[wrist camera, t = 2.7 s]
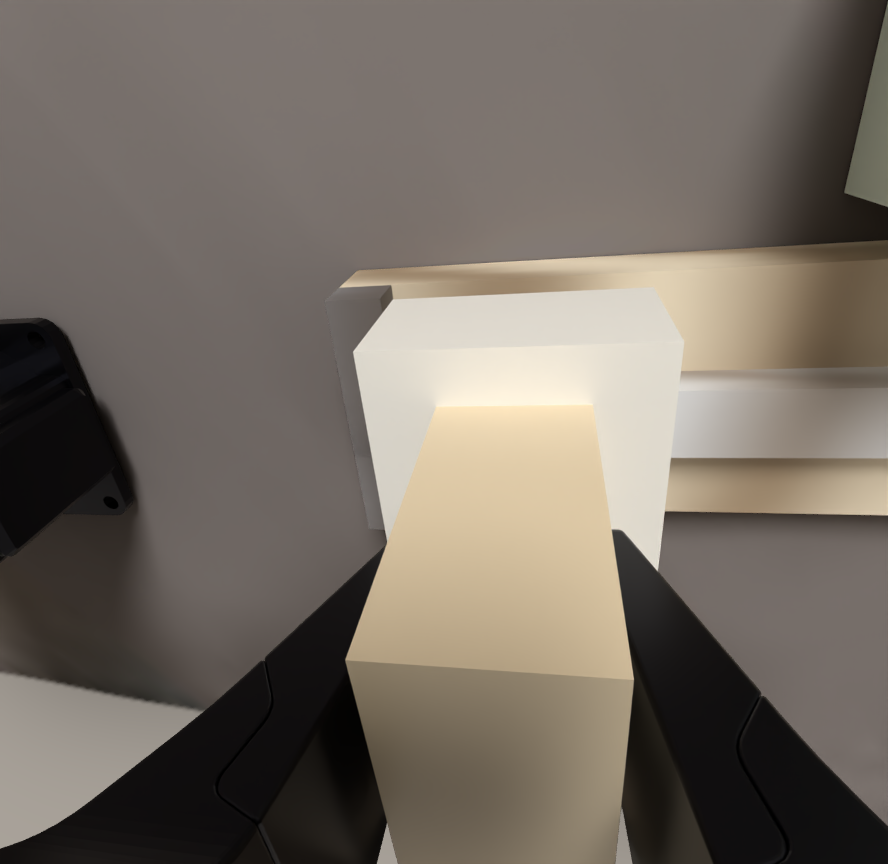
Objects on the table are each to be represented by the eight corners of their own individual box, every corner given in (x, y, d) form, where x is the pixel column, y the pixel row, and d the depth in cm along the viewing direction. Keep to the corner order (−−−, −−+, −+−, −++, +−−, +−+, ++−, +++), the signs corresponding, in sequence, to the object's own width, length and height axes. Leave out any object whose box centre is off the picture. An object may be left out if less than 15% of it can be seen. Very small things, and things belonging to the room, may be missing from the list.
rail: (391, 475, 17) (369, 529, 15) (357, 270, 14) (324, 301, 12) (1119, 481, 14) (1224, 551, 12) (1270, 218, 11) (1447, 247, 9)
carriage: (425, 533, 15) (321, 903, 8) (392, 299, 12) (185, 571, 5) (632, 538, 14) (714, 960, 7) (654, 287, 11) (827, 598, 4)
